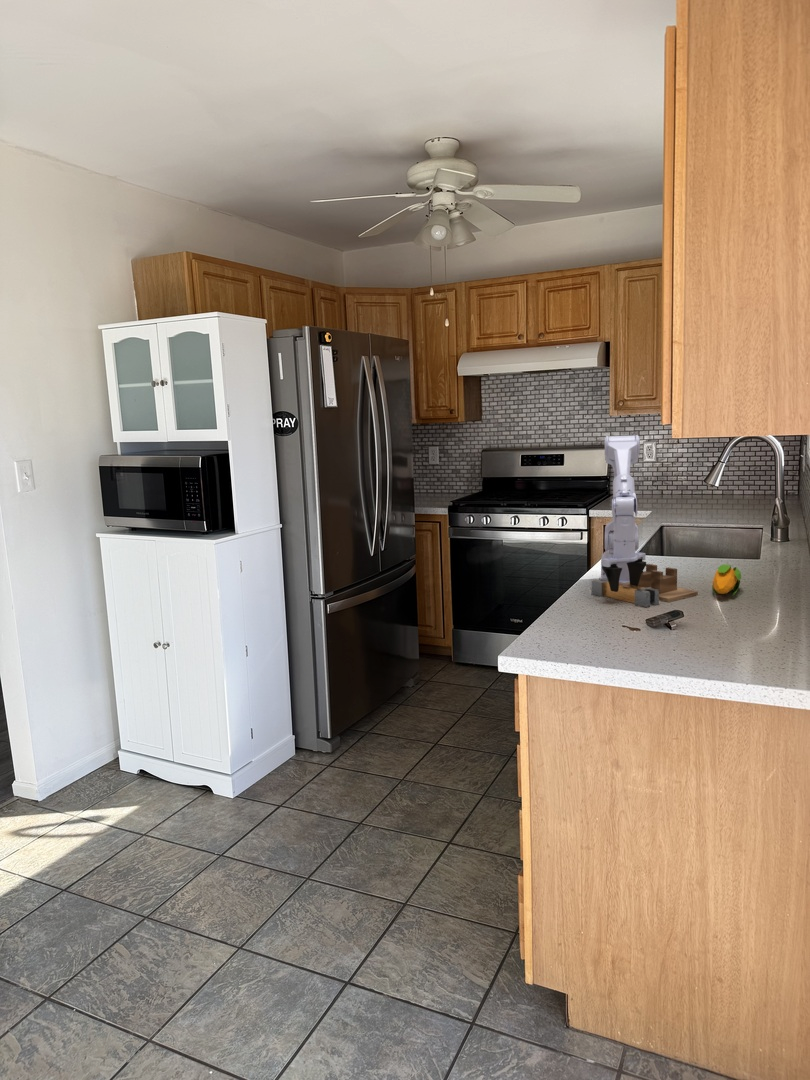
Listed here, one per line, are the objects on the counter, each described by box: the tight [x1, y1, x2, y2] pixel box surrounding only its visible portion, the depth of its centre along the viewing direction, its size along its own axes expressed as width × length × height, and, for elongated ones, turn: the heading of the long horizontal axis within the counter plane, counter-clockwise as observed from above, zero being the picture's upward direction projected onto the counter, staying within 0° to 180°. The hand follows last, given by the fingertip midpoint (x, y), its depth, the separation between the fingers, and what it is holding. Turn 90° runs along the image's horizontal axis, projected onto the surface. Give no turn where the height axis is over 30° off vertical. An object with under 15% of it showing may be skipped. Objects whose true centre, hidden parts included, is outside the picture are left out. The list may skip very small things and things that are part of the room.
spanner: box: [591, 577, 660, 608], centre depth 210 cm, size 20×5×4 cm, turn 31°
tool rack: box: [625, 563, 699, 603], centre depth 216 cm, size 20×12×7 cm, turn 31°
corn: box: [711, 564, 742, 597], centre depth 211 cm, size 7×8×20 cm
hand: (624, 589), depth 210 cm, fingers open, 7 cm apart
